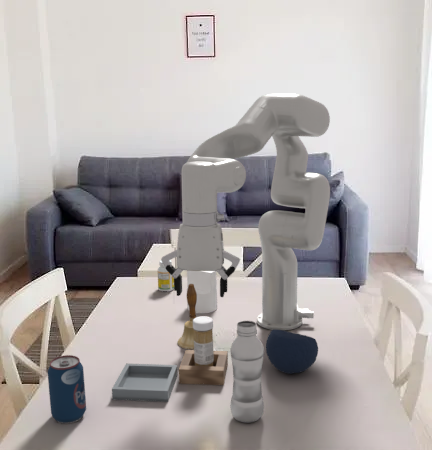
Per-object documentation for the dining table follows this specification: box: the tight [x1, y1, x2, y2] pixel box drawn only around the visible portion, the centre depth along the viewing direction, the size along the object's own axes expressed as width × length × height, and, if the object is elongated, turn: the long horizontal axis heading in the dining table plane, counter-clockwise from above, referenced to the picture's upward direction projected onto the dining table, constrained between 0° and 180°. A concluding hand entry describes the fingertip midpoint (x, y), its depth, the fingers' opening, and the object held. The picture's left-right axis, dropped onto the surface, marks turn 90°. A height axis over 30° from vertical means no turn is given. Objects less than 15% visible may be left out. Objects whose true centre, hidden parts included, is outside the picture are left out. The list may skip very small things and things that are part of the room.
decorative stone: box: [265, 329, 319, 375], centre depth 138 cm, size 12×12×10 cm
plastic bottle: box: [229, 320, 265, 424], centre depth 117 cm, size 6×7×20 cm
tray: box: [111, 362, 179, 403], centre depth 133 cm, size 12×12×2 cm
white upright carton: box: [186, 271, 218, 314], centre depth 178 cm, size 9×9×12 cm
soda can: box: [47, 354, 87, 424], centre depth 120 cm, size 7×7×12 cm
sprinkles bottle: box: [193, 315, 214, 366], centre depth 137 cm, size 5×5×13 cm
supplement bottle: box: [157, 259, 174, 292], centre depth 196 cm, size 5×5×10 cm
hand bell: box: [177, 284, 197, 350], centre depth 154 cm, size 8×8×16 cm
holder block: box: [178, 349, 229, 386], centre depth 138 cm, size 10×10×4 cm
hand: (200, 294), depth 133 cm, fingers open, 9 cm apart
